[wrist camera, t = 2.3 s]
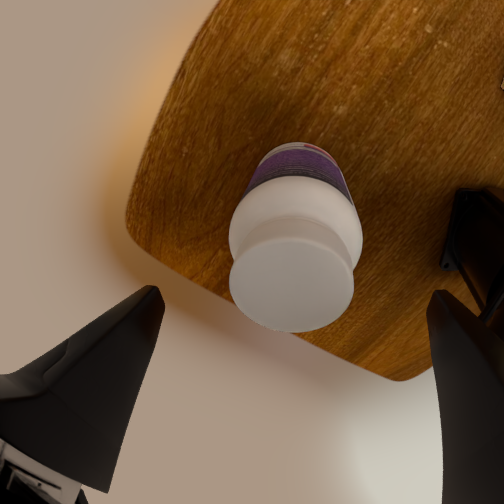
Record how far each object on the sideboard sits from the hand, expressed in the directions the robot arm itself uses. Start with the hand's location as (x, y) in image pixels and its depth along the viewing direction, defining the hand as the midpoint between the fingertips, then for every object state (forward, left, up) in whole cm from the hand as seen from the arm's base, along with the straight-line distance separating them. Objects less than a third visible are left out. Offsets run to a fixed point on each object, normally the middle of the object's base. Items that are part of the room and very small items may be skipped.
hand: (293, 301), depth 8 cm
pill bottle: (0, 0, -10) cm, 10 cm away
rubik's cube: (+9, -18, -10) cm, 22 cm away
